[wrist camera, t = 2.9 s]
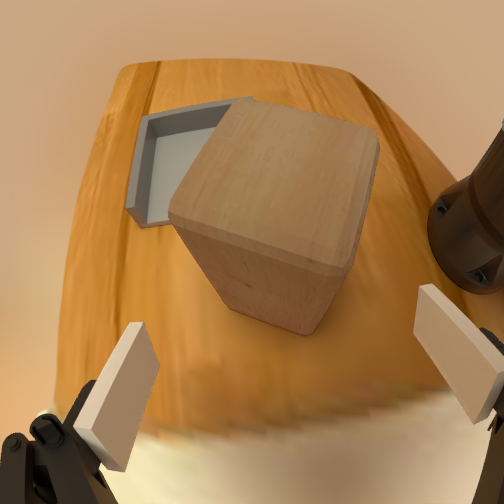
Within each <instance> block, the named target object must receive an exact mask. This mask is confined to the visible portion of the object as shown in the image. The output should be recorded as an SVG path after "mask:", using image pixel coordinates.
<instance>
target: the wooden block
mask: <svg viewBox="0 0 504 504" xmlns="http://www.w3.org/2000/svg"><path fill="white" fill-rule="evenodd" d="M379 151H380V145H379V140H378V136H377V133H376V132H374V131H373V130H372V129H370V128H369V127H365V126H362V125H359V124H355V123H352V122H348V121H345V120H341V119H338V118H334V117H330V116H326V115H322V114H318V113H314V112H310V111H305V110H301V109H297V108H292V107H287V106H282V105H277V104H272V103H267V102H262V101H256V100H250V99H243V100H238V101H236V102H234V103H232V105H231V106H230V108H229V109H228V110H227V112H226V113H225V115H224V116H223V118H222V119H221V121H220V122H219V124H218V125H217V126H216V128H215V129H214V131H213V132H212V134H211V135H210V137H209V138H208V140H207V141H206V143H205V145H204V146H203V148H202V149H201V151H200V152H199V154H198V155H197V157H196V159H195V160H194V162H193V163H192V165H191V166H190V168H189V170H188V171H187V173H186V174H185V176H184V178H183V179H182V181H181V183H180V184H179V186H178V188H177V189H176V191H175V193H174V194H173V196H172V198H171V199H170V203H169V207H168V218H169V220H170V222H171V223H172V225H173V226H174V228H175V229H176V231H177V233H178V234H179V236H180V237H181V239H182V240H183V242H184V243H185V245H186V246H187V248H188V249H189V251H190V253H191V254H192V256H193V257H194V259H195V260H196V262H197V263H198V265H199V266H200V268H201V269H202V271H203V272H204V274H205V275H206V277H207V278H208V280H209V281H210V282H211V284H212V285H213V287H214V288H215V290H216V291H217V293H218V294H219V296H220V297H221V299H222V300H223V301H224V303H225V304H226V305H227V306H228V307H229V308H230V309H232V310H235V311H237V312H240V313H242V314H245V315H248V316H250V317H253V318H256V319H258V320H261V321H264V322H266V323H269V324H272V325H275V326H277V327H280V328H283V329H286V330H289V331H291V332H294V333H297V334H300V335H311V334H312V333H313V332H314V330H315V329H316V328H317V326H318V324H319V323H320V321H321V319H322V318H323V316H324V314H325V313H326V311H327V309H328V307H329V306H330V304H331V302H332V300H333V299H334V297H335V295H336V293H337V292H338V290H339V288H340V286H341V285H342V283H343V281H344V279H345V277H346V276H347V274H348V272H349V270H350V268H351V266H352V265H353V261H354V258H355V254H356V251H357V247H358V243H359V239H360V236H361V232H362V228H363V224H364V220H365V216H366V212H367V207H368V203H369V199H370V194H371V190H372V185H373V181H374V176H375V171H376V166H377V161H378V156H379Z"/></svg>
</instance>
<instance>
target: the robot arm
mask: <svg viewBox="0 0 504 504" xmlns="http://www.w3.org/2000/svg"><path fill="white" fill-rule="evenodd" d="M502 124H503V125H502V128H501V130H500V131H499V133H498V134H497V136H496V138H495V139H494V141H493V142H492V144H491V145H490V147H489V148H488V150H487V151H486V153H485V155H484V156H483V157H482V159H481V160H480V162H479V163H478V165H477V166H476V168H475V169H474V171H473V172H472V174H471V175H469V176H467V177H466V178H464V179H462V180H460V181H459V182H457V183H455V184H453V185H452V186H450V187H448V188H447V189H445V190H444V191H443V192H442V193H441V194H440V196H439V197H438V199H437V200H436V201H435V203H434V204H433V206H432V208H431V210H430V213H429V217H428V236H429V241H430V245H431V248H432V251H433V253H434V255H435V257H436V259H437V261H438V263H439V265H440V266H441V268H442V269H443V270H444V272H445V273H446V274H447V275H448V276H449V278H450V279H451V280H453V281H454V282H455V283H456V284H457V285H459V286H460V287H462V288H463V289H465V290H467V291H469V292H472V293H476V294H490V293H493V292H495V291H497V290H499V289H500V288H502V287H504V120H503V122H502ZM413 334H414V335H415V337H416V338H417V339H418V341H419V342H420V344H421V345H422V346H423V348H424V349H425V351H426V352H427V354H428V355H429V356H430V358H431V359H432V361H433V362H434V364H435V365H436V367H437V368H438V370H439V371H440V373H441V374H442V376H443V377H444V379H445V380H446V382H447V383H448V385H449V386H450V388H451V389H452V391H453V392H454V394H455V396H456V397H457V399H458V400H459V402H460V403H461V405H462V407H463V408H464V410H465V411H466V413H467V415H468V416H469V418H470V420H471V421H472V423H473V424H475V423H478V422H480V421H482V420H484V419H486V418H488V416H489V414H490V412H491V410H492V409H493V408H494V409H495V411H496V412H497V413H496V415H495V417H494V419H493V420H492V422H491V424H490V426H489V428H488V430H487V431H490V429H491V428H492V432H491V437H490V442H489V446H488V450H487V455H486V458H485V462H484V466H483V470H482V473H481V477H480V480H479V483H478V486H477V490H476V493H475V496H474V498H473V501H472V504H504V344H503V343H502V342H501V341H499V339H498V338H497V337H496V336H495V335H494V334H493V333H492V332H490V331H488V330H487V329H485V328H483V327H482V328H479V329H478V328H477V327H476V326H475V325H474V324H473V323H472V322H471V321H470V320H469V319H468V318H467V317H466V316H465V315H464V314H463V313H462V312H461V311H460V310H459V309H458V308H457V307H456V306H455V305H454V304H453V303H452V302H451V301H450V300H449V299H448V298H447V297H446V296H445V295H444V294H443V293H442V292H441V291H440V290H439V289H438V288H436V287H435V286H434V285H433V284H427V285H422V286H419V292H418V301H417V308H416V316H415V322H414V329H413ZM159 367H160V365H159V362H158V359H157V357H156V354H155V352H154V349H153V346H152V343H151V341H150V338H149V335H148V332H147V329H146V327H145V324H144V322H130V323H129V325H128V326H127V328H126V330H125V331H124V333H123V335H122V336H121V338H120V340H119V342H118V343H117V345H116V347H115V349H114V350H113V352H112V354H111V356H110V357H109V359H108V361H107V363H106V365H105V366H104V368H103V370H102V372H101V374H100V376H99V377H98V379H97V380H90V381H89V382H88V383H87V384H86V385H85V386H84V387H83V388H82V390H81V391H80V393H79V395H78V398H76V400H75V402H74V405H73V406H72V408H71V409H70V411H69V413H68V415H67V417H66V419H65V421H64V423H63V424H62V423H61V422H60V421H59V419H58V418H57V417H56V416H55V415H53V414H43V415H40V416H39V417H37V418H36V419H35V420H34V421H33V422H32V424H31V426H30V433H31V435H32V436H33V437H34V438H35V440H36V441H29V440H28V439H27V438H26V437H25V436H24V435H23V434H21V433H13V434H11V435H9V436H8V437H7V438H6V439H5V441H4V442H3V445H2V452H1V460H0V504H118V502H117V501H116V499H115V497H114V495H113V493H112V491H111V490H110V488H109V486H108V484H107V482H106V480H105V478H104V476H103V474H102V472H101V471H100V470H99V466H100V463H101V462H102V464H103V465H104V466H105V467H106V468H107V469H108V470H112V471H118V472H125V470H126V467H127V464H128V460H129V457H130V454H131V451H132V448H133V445H134V441H135V438H136V435H137V432H138V429H139V426H140V423H141V420H142V417H143V414H144V411H145V408H146V405H147V402H148V399H149V396H150V393H151V390H152V387H153V384H154V382H155V379H156V376H157V373H158V370H159ZM492 426H493V427H492Z"/></svg>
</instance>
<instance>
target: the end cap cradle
mask: <svg viewBox="0 0 504 504" xmlns="http://www.w3.org/2000/svg"><path fill="white" fill-rule="evenodd" d="M243 99H250V100H253V96H251V97H243V98H235V99H228V100H222V101H215V102H209V103H203V104H198V105H192V106H187V107H182V108H177V109H172V110H168V111H163V112H159V113H154V114H150V115H146V116H142V120H141V124H140V128H139V133H138V138H137V143H136V148H135V153H134V158H133V163H132V169H131V175H130V181H129V187H128V193H127V200H126V207H125V209H126V210H127V211H128V212H129V214H130V215H131V216H132V217H133V219H134V220H135V221H136V222H137V224H138V225H139V226H140V227H141V228H148V227H154V226H161V225H167V224H172V223H171V222H170V220H169V218H168V207H169V203H170V199H171V198H172V196H173V194H174V193H175V191H176V189H177V188H178V186H179V184H180V183H181V181H182V179H183V178H184V176H185V174H186V173H187V171H188V170H189V168H190V166H191V165H192V163H193V162H194V160H195V159H196V157H197V155H198V154H199V152H200V151H201V149H202V148H203V146H204V145H205V143H206V141H207V140H208V138H209V137H210V135H211V134H212V132H213V131H214V129H215V128H216V126H217V125H218V124H219V122H220V121H221V119H222V118H223V116H224V115H225V113H226V112H227V110H228V109H229V108H230V106H231V105H232V103H234V102H236V101H238V100H243Z"/></svg>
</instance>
